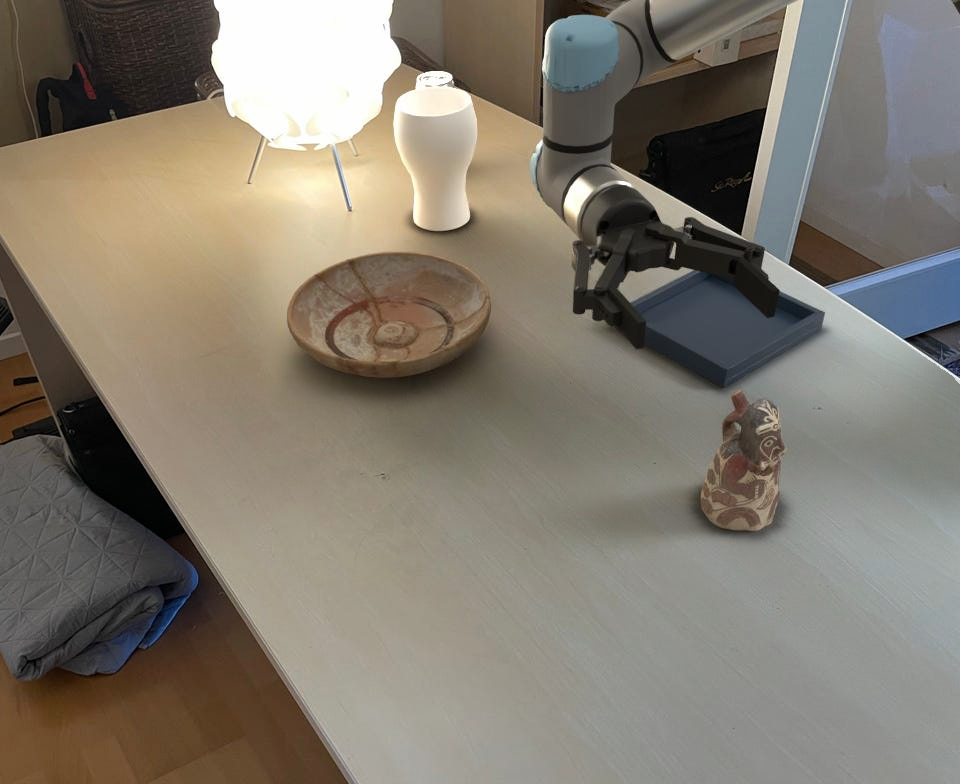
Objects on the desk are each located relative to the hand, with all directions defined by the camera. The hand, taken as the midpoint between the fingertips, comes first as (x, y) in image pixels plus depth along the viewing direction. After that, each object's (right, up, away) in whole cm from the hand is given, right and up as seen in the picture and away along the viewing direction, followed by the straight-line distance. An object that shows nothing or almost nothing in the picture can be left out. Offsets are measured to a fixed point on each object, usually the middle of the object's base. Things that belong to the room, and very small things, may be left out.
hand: (708, 320), depth 91 cm
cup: (-26, +28, +44) cm, 59 cm away
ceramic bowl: (-31, +5, +25) cm, 40 cm away
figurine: (+3, -17, +3) cm, 18 cm away
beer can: (-27, +40, +55) cm, 73 cm away
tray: (+6, +7, +23) cm, 25 cm away
